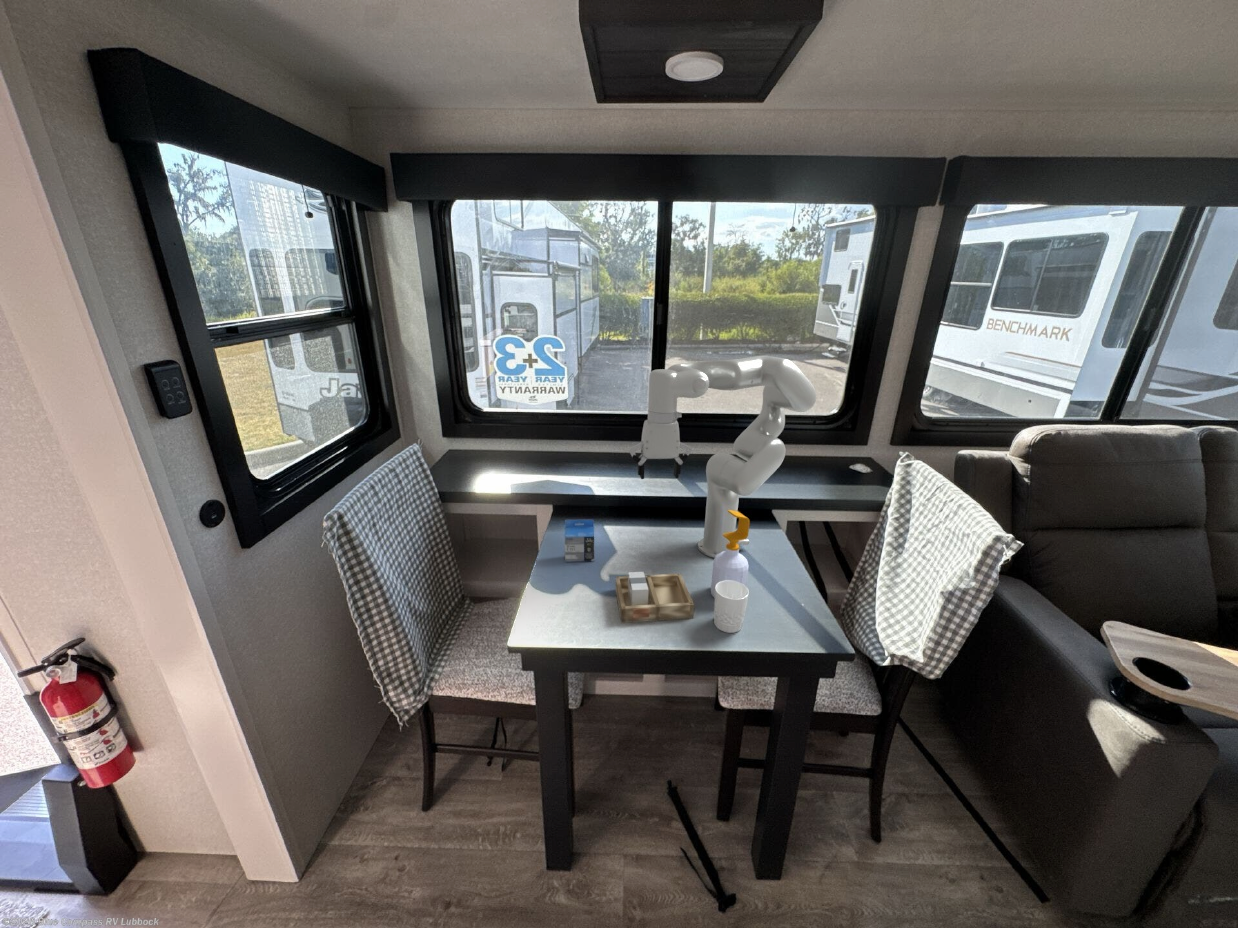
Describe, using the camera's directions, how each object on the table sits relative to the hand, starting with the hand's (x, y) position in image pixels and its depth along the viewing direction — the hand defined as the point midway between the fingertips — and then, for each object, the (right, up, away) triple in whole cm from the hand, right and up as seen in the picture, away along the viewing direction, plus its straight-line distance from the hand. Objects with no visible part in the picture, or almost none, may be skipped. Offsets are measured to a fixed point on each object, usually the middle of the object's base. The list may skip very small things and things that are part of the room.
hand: (658, 476), depth 132 cm
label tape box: (-23, -25, +13) cm, 37 cm away
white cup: (+16, -36, -15) cm, 42 cm away
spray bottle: (+18, -32, -3) cm, 37 cm away
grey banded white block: (-6, -32, -8) cm, 34 cm away
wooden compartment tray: (-2, -33, -8) cm, 34 cm away
